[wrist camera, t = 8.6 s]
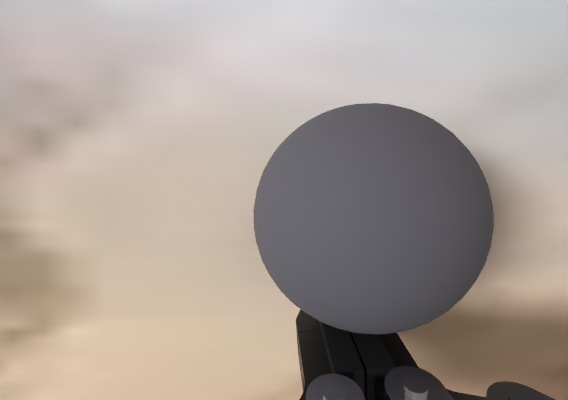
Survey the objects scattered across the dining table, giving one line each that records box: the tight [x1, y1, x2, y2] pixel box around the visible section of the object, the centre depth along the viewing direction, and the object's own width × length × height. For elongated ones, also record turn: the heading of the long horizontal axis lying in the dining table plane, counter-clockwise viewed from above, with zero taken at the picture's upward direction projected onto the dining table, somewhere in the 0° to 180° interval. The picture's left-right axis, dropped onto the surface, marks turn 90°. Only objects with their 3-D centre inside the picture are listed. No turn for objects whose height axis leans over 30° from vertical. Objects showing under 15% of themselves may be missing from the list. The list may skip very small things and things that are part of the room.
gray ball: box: [254, 103, 493, 334], centre depth 8 cm, size 6×6×6 cm
